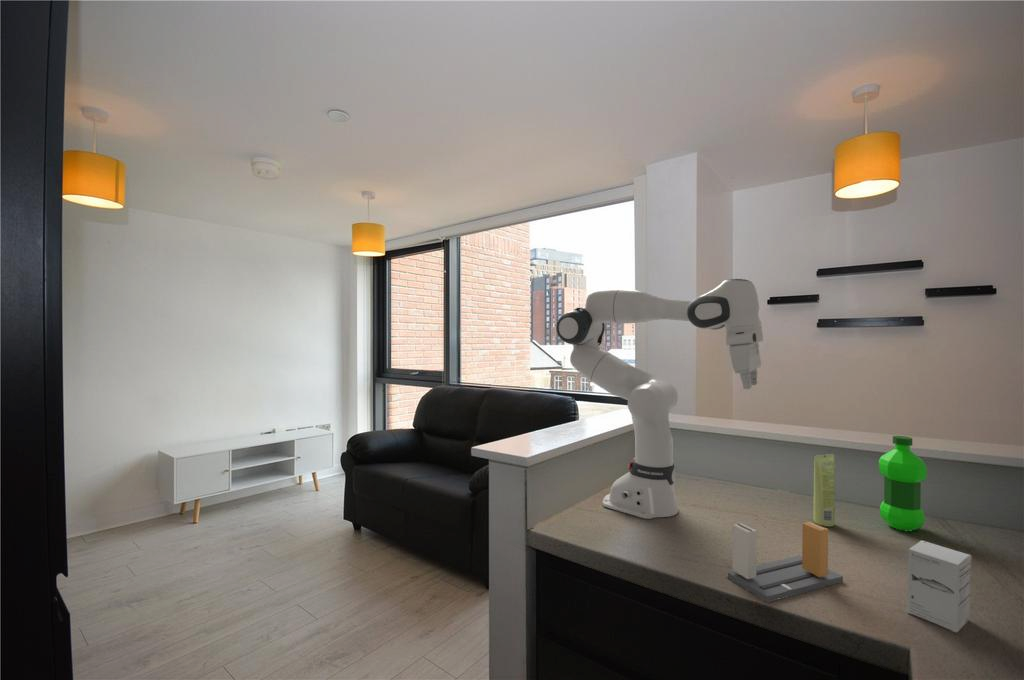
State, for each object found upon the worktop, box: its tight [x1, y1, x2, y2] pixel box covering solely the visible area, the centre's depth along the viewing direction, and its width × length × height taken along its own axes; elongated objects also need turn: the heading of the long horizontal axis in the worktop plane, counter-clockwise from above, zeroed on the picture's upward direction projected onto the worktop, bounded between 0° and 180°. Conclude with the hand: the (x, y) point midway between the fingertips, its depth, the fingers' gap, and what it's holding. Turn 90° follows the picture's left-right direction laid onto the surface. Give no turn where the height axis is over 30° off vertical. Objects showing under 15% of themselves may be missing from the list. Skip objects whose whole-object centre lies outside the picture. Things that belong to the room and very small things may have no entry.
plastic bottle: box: [878, 435, 928, 532], centre depth 126 cm, size 10×10×25 cm
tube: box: [813, 453, 836, 527], centre depth 129 cm, size 6×5×20 cm
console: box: [727, 554, 844, 603], centre depth 100 cm, size 22×10×1 cm, turn 110°
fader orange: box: [801, 521, 829, 577], centre depth 100 cm, size 2×4×10 cm, turn 20°
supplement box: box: [906, 540, 972, 633], centre depth 87 cm, size 7×7×13 cm
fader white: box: [732, 523, 758, 579], centre depth 99 cm, size 2×4×10 cm, turn 20°
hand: (750, 386), depth 125 cm, fingers open, 8 cm apart
